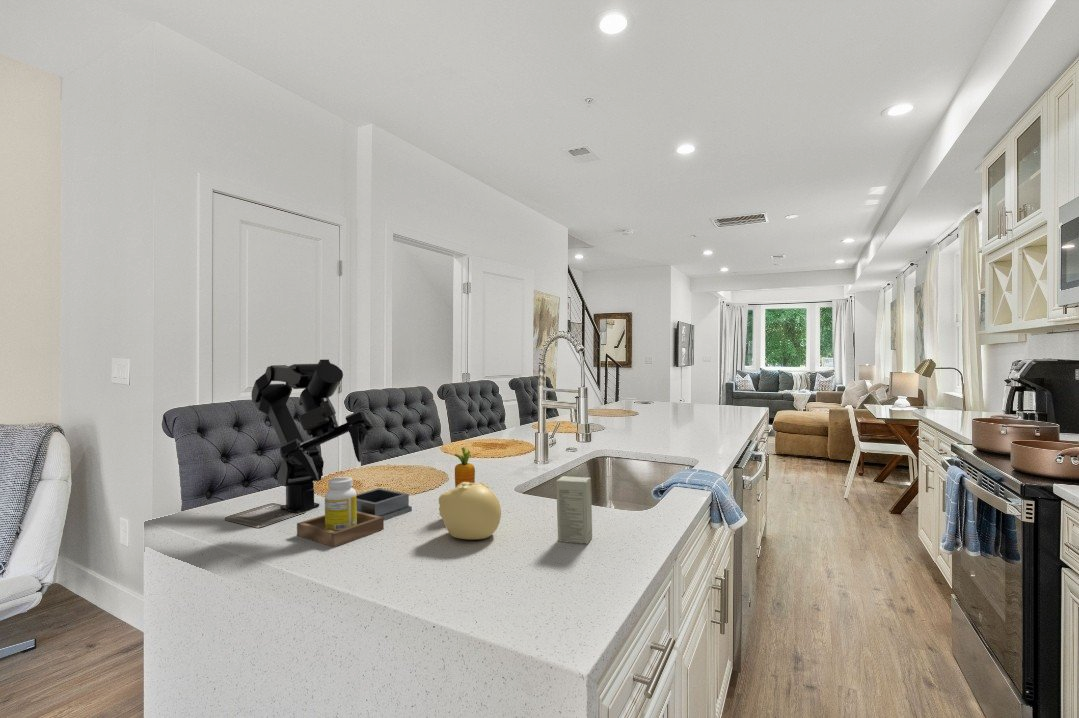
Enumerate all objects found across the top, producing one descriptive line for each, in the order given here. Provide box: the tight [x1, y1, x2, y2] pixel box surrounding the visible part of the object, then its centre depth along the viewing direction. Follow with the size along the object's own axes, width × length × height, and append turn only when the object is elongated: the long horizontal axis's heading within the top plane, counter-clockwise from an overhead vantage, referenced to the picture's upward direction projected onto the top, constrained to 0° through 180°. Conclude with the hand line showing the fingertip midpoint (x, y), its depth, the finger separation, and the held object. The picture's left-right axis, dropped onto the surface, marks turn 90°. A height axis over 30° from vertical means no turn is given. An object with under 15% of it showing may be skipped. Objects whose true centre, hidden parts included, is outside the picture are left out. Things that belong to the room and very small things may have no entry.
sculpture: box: [438, 482, 502, 540], centre depth 109 cm, size 11×12×11 cm
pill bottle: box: [324, 476, 357, 531], centre depth 111 cm, size 6×6×11 cm
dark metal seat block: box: [356, 488, 413, 521], centre depth 124 cm, size 11×11×4 cm
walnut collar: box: [296, 511, 385, 548], centre depth 111 cm, size 12×12×2 cm
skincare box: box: [555, 475, 593, 544], centre depth 106 cm, size 6×4×12 cm
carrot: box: [454, 447, 476, 488], centre depth 124 cm, size 5×5×15 cm
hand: (338, 470), depth 113 cm, fingers open, 9 cm apart
